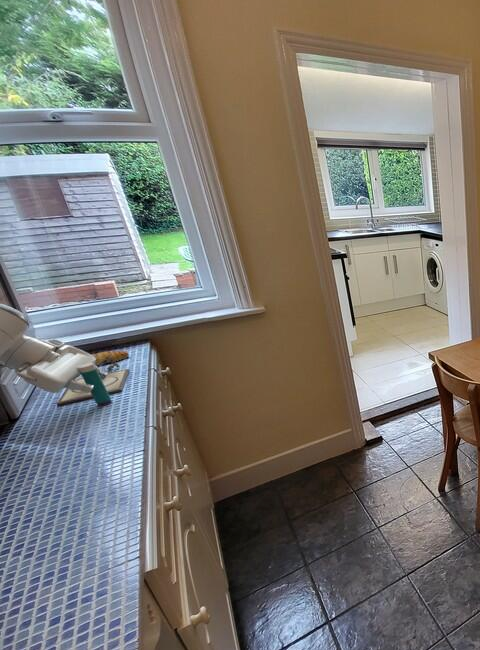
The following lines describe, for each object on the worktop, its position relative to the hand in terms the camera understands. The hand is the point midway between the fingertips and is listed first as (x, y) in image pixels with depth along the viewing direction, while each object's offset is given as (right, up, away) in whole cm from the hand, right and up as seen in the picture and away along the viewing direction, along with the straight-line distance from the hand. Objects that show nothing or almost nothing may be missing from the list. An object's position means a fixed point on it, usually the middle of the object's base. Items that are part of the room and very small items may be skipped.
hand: (99, 383), depth 115 cm
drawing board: (-14, -2, +13) cm, 19 cm away
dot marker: (0, -6, +2) cm, 6 cm away
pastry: (-29, +7, +33) cm, 45 cm away
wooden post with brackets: (-24, +3, +26) cm, 35 cm away
